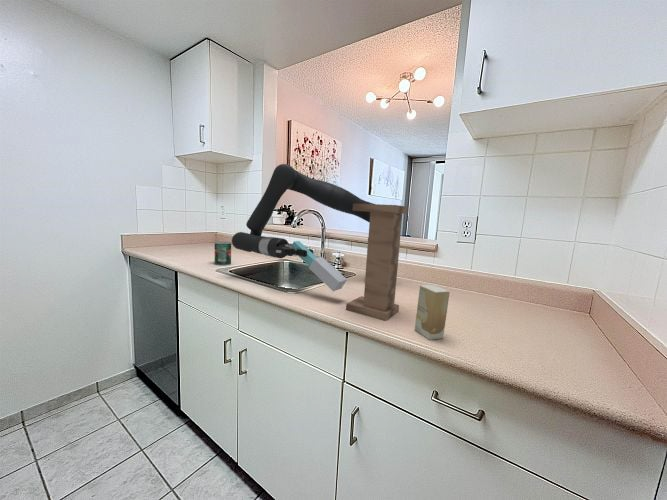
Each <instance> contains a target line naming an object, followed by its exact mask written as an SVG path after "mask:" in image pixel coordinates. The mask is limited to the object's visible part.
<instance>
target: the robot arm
mask: <svg viewBox="0 0 667 500" xmlns="http://www.w3.org/2000/svg"><path fill="white" fill-rule="evenodd" d="M287 190H290V191H293V192H297V193H298V194H301V195H305V196H307V197H309V198H310V199H312V200H313V201H315V202H316V203H319V204H320V205H324V206H326V207H328V208H331V209H333V210H335V211H338V212H340V213H341V212H342V213H345V214H349V215H353V216H355V217H358V218H359V219H362V220H364V221H366V222H368V223H369V224H370V212H366V211H353V204H374V203H372V202H370V201H366V200H365V199H362V198H360V197H359V196H357V195H356V194H354V193H352V192H351V191H349V190H347V189H345V188H343V187H341V186H338V185H336V184H333V183H330V182H327V181H323V180H321V179H320V180H319V179H315V178H312V177H309V176H307V175H306V174H303V173H302V172H299V171H298V170H296V169H294V167H293V166H291V165H290V164H287V163H281V164H278V165H277V166H276V167H275V169H274V170H273V173H272V174H271V177H270V180H269V182H268V185H267V187H266V189H265V192H263V195H262V197H261V199H260V200H259V202H258V203H257V205H256V206H255V208H254V209H253V212H252V213H251V215H250V217H249V218H248V220H247V221H246V227H247V228H248V229H249V230H250V231H249V232H250V233H249V232H244V231H243V232H242V231H239V232H236V233H235V234H233V236H231V245H232V246H233V247H234V248H235V249H236V250H241V251H245V252H248V253H251V252H253V253H256V254H260V255H264V256H267V257H272V258H276V259H284V258H285V257H294V256H295V257H296V256H298V257H299V256H303V257H306V256H307V250H301V249H297V248H294V247H293V246H292V244H293V243H289V242H288V240H287V239H286V238H282V237H275V236H274V237H273V236H263V235H262V233H263V231H264V229H265V227H266V226H267V225H268V223H269V221H270V219H271V217H272V215H273V213H274V212H275V208H276V206H277V205H278V203H279V201H280V200H281V197H283V195H284V194H285V193H286V191H287ZM368 237H369V235H368V236H367V238H368ZM305 247H306V248H308V247H307V246H305ZM366 247H367V248H366V251H367V250H368V245H367V246H366ZM308 250H310V251H311V252H312V253H313V254H314V249H313V248H312V249H310V248H308ZM365 260H366V262H365V264H366V263H367V259H365ZM364 276H365V277H366V272H365V274H364ZM365 277H364V278H365Z"/></svg>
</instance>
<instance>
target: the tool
mask: <svg viewBox="0 0 667 500" xmlns="http://www.w3.org/2000/svg"><path fill="white" fill-rule="evenodd" d="M291 244H292V246H293V247H294V248H297V249H301V250H307V256H306V257H303V256H298V257H299V258H300V259H301V260H302V261H303V262H304V263H305V264H306V265H307V266H308V268H309V270H310V271H311V272H312V273H313V274H314V275H315V276H317V277H318V279H320V280H321V281H322V282H323V284H325V285H326V286H327V287H328V288H329V289H330V290H331V292H336V291H338V290H341V289H342V288H343V287H344V285H345V283H346V282H347V281H348V279H347V278H346V277H345V276H344V275H343V274H342V273H341V272H340V271H338V269H336V268H335V267H334V266H333V265H332V264H331V263H330V262H329V261H328V260H326V259H325V258H324V257H318V256H316V254H314V252H313V253H312V252H311V251H310V250H308V249H309V248H308V247H307V246H306V245H304V244H303V243H302V241H300V240H295V241H293V242H292V243H291ZM306 247H307V248H306Z"/></svg>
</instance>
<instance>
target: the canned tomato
mask: <svg viewBox="0 0 667 500" xmlns="http://www.w3.org/2000/svg"><path fill="white" fill-rule="evenodd" d="M214 265H215V266H230V265H232V241H231V242H230V241H215V242H214Z"/></svg>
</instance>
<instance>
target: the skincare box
mask: <svg viewBox="0 0 667 500" xmlns="http://www.w3.org/2000/svg"><path fill="white" fill-rule="evenodd" d="M449 297H450V291H449V290H447V289H445V288H442V287H440V286H437V285H435V284H420V285H419V292H418V298H417V299H418V301H417V307H416V316H415V323H414V330H415V331H416V332H418V333H419V334H420V335H422V336H423V337H424V338H426V339H428V340H430V341H434V340H441V339H444V335H445V328H446V320H447V313H448V305H449V299H450V298H449Z"/></svg>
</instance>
